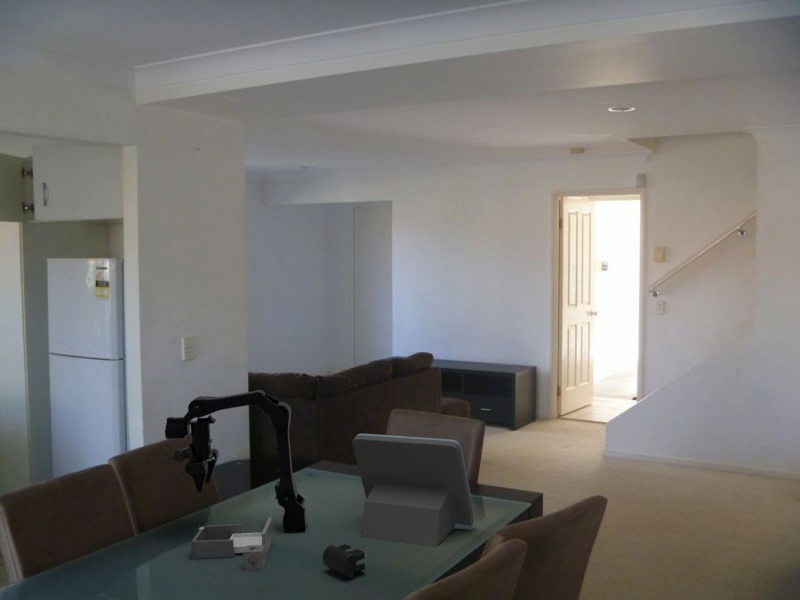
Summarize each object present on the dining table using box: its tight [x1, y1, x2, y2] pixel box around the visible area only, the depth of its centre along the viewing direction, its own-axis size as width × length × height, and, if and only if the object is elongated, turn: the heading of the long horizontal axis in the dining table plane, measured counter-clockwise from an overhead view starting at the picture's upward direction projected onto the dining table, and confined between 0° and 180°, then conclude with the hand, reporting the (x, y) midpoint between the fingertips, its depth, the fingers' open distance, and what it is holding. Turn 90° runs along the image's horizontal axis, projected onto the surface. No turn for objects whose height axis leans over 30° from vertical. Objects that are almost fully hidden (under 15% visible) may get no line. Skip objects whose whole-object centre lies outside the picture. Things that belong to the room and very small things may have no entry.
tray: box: [229, 517, 274, 556], centre depth 235 cm, size 12×14×6 cm
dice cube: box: [242, 545, 267, 571], centre depth 221 cm, size 5×5×5 cm
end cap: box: [322, 543, 366, 580], centre depth 213 cm, size 10×7×7 cm
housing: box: [190, 523, 243, 560], centre depth 235 cm, size 12×14×5 cm
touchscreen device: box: [351, 433, 475, 547], centre depth 244 cm, size 35×20×30 cm, turn 65°
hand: (203, 487), depth 248 cm, fingers open, 9 cm apart
